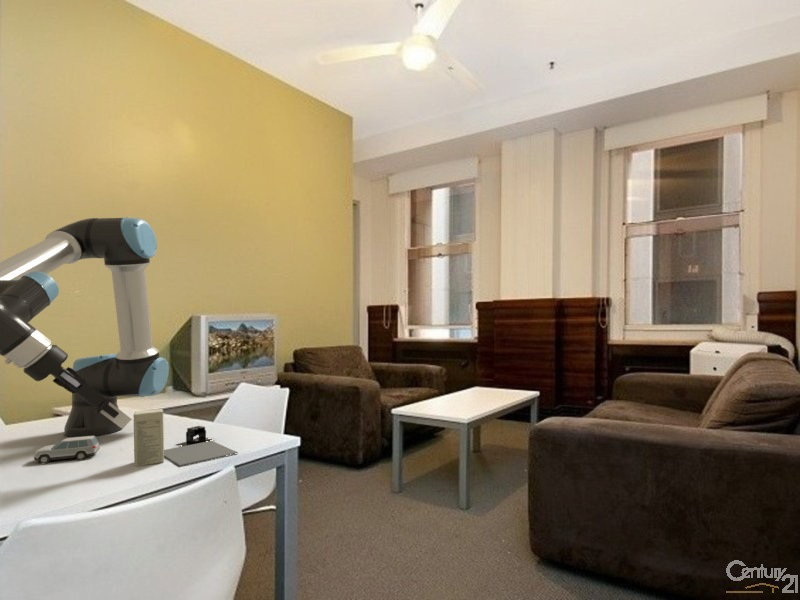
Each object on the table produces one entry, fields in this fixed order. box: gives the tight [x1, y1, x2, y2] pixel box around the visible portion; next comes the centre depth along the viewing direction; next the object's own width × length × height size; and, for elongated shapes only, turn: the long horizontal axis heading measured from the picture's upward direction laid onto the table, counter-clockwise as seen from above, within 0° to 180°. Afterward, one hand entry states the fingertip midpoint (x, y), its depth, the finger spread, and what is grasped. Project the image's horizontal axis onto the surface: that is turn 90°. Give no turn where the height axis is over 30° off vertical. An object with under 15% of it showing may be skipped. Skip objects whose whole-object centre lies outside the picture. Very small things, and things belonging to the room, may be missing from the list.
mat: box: [164, 440, 239, 468], centre depth 119 cm, size 16×14×1 cm
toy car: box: [33, 436, 101, 464], centre depth 115 cm, size 6×13×5 cm, turn 111°
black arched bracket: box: [175, 425, 213, 446], centre depth 130 cm, size 12×7×5 cm, turn 148°
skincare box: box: [133, 408, 165, 467], centre depth 112 cm, size 6×4×12 cm
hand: (126, 423), depth 109 cm, fingers closed
